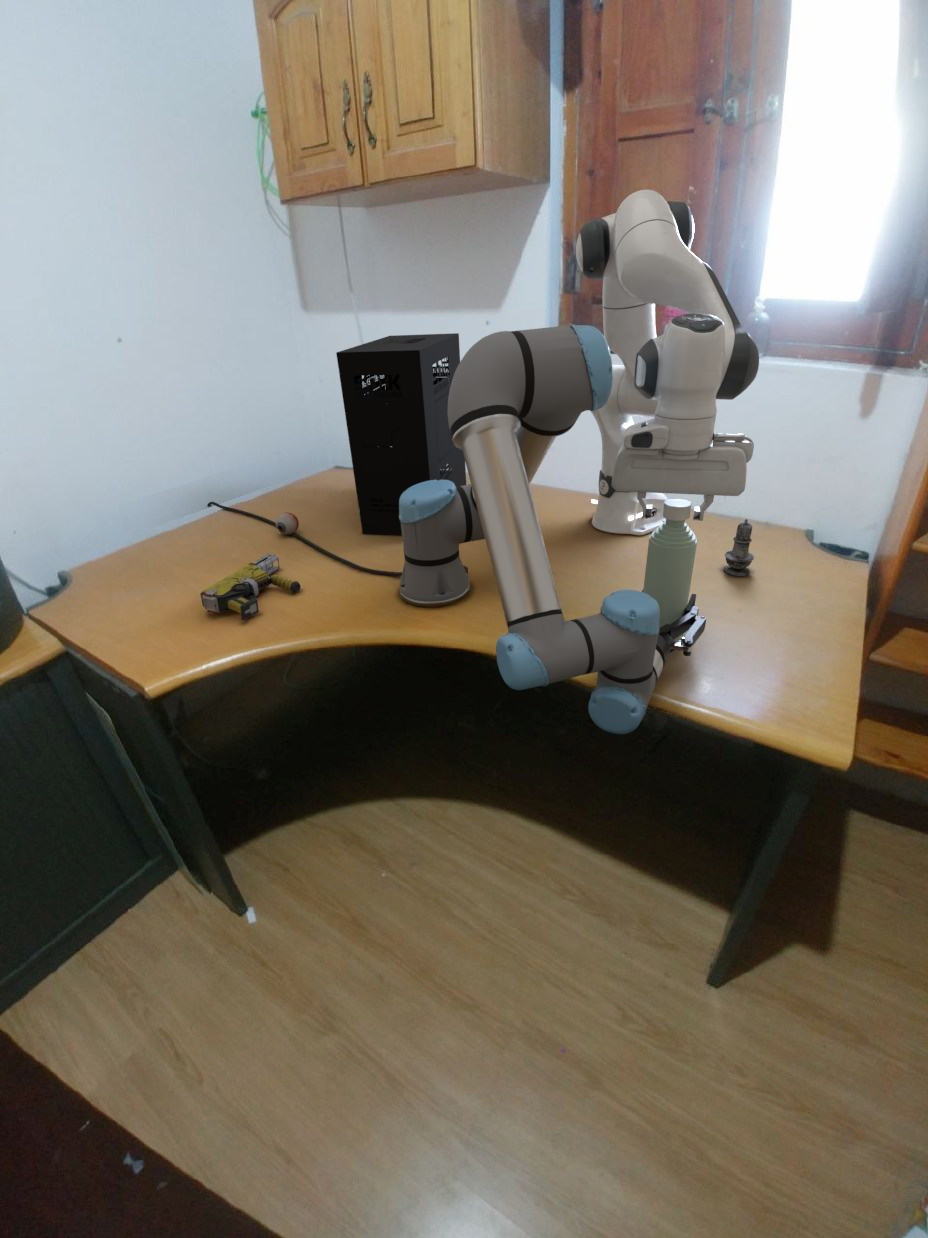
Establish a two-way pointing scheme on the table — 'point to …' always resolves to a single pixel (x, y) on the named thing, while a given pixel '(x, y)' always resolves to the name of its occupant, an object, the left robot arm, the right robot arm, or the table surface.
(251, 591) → the toy gun
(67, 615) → the table surface
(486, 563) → the table surface
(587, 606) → the table surface
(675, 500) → the cap
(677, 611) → the bottle
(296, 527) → the eyeball
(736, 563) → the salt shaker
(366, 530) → the cardboard box
